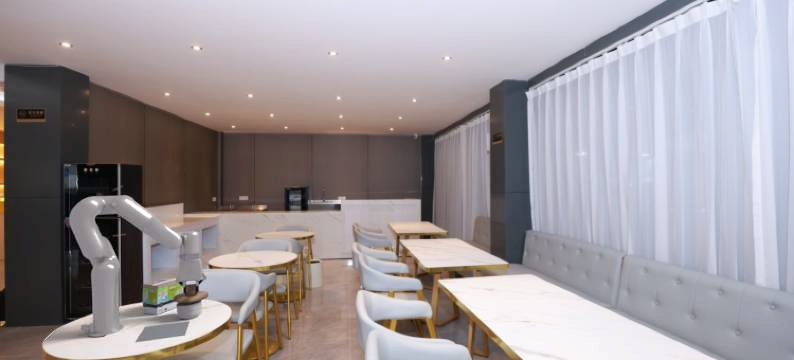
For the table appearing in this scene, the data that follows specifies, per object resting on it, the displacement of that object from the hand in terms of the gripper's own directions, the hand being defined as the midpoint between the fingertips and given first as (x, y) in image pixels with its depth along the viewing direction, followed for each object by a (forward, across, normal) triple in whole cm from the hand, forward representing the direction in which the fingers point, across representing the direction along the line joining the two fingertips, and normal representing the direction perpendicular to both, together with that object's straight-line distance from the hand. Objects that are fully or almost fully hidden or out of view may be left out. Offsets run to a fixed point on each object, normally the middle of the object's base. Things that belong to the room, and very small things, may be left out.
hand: (191, 293), depth 192 cm
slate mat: (+11, -9, -17) cm, 22 cm away
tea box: (+12, -15, +18) cm, 26 cm away
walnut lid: (+2, 0, 0) cm, 2 cm away
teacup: (+11, 0, 0) cm, 11 cm away
